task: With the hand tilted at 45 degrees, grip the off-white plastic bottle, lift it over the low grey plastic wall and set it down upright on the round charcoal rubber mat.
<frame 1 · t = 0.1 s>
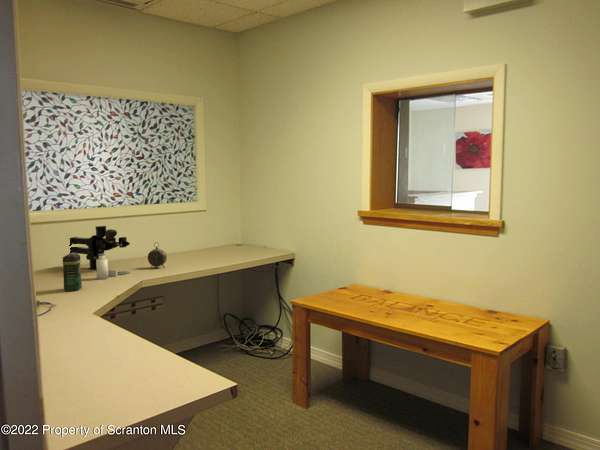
hand: (123, 244, 307), 17 cm above the table, tool horizontal, fingers open, 9 cm apart
mat: (121, 273, 304), on the table
coffee jar: (73, 289, 264), on the table
alarm clock: (157, 268, 320), on the table
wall: (110, 275, 298), on the table
bottle: (102, 278, 291), on the table
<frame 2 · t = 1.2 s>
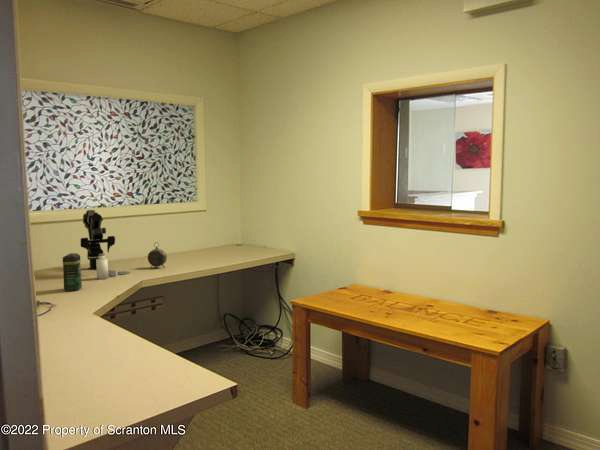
hand: (99, 252, 296), 14 cm above the table, tool tilted 45°, fingers open, 9 cm apart
nothing on the table moved.
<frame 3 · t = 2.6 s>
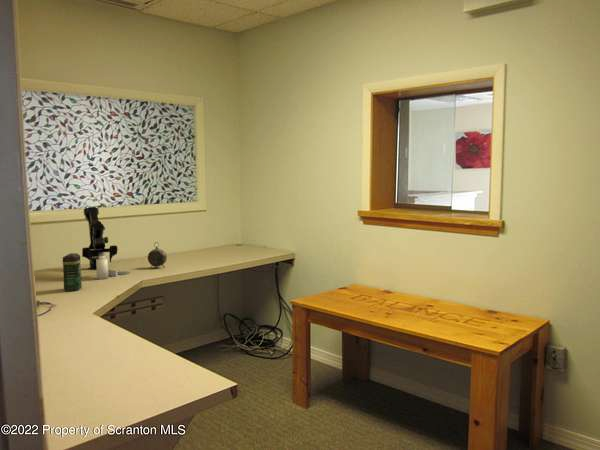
hand: (101, 262, 290), 9 cm above the table, tool tilted 45°, fingers open, 9 cm apart
nothing on the table moved.
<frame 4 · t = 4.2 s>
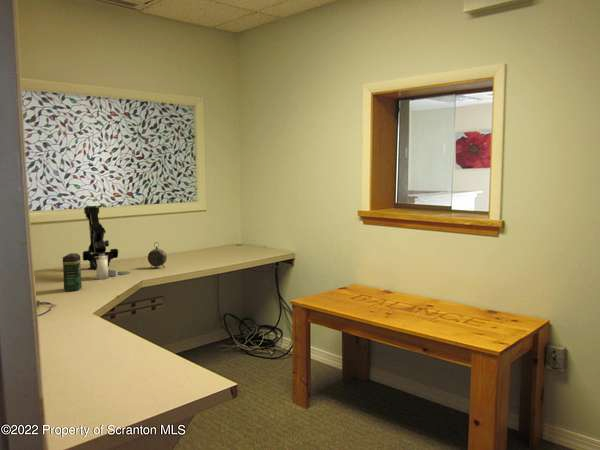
hand: (102, 266, 289), 7 cm above the table, tool tilted 45°, fingers closed on bottle, 6 cm apart
bottle: (102, 278, 291), on the table, touching gripper
everything else where it was.
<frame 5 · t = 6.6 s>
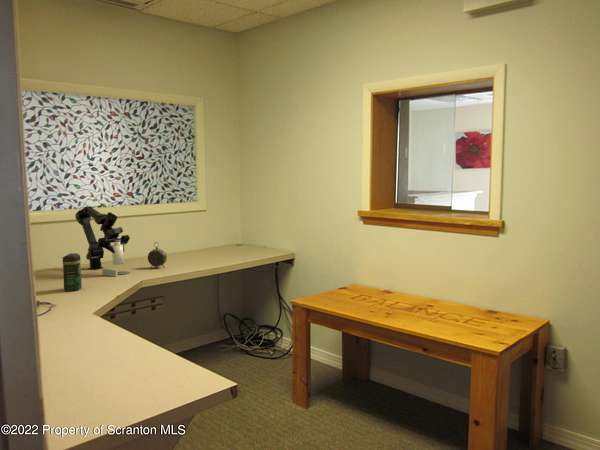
hand: (119, 252, 299), 13 cm above the table, tool tilted 45°, fingers closed on bottle, 6 cm apart
bottle: (118, 263, 301), point 6 cm above the table, touching gripper
everything else where it was.
when the fingers open (9 cm above the table, at t = 9.0 s): bottle drops 1 cm, resting on mat.
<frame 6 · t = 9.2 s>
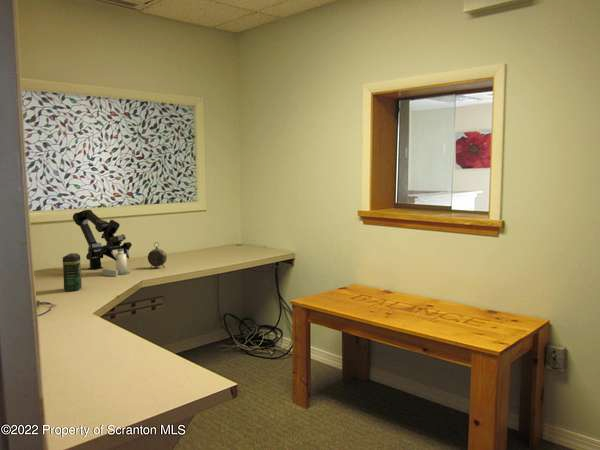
hand: (122, 259, 303), 9 cm above the table, tool tilted 45°, fingers open, 8 cm apart
bottle: (121, 272, 304), resting on mat
everything else where it was.
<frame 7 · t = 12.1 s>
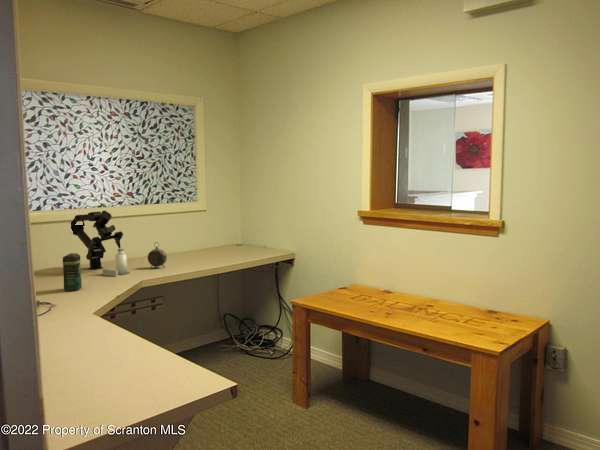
hand: (112, 250, 307), 13 cm above the table, tool tilted 40°, fingers open, 9 cm apart
nothing on the table moved.
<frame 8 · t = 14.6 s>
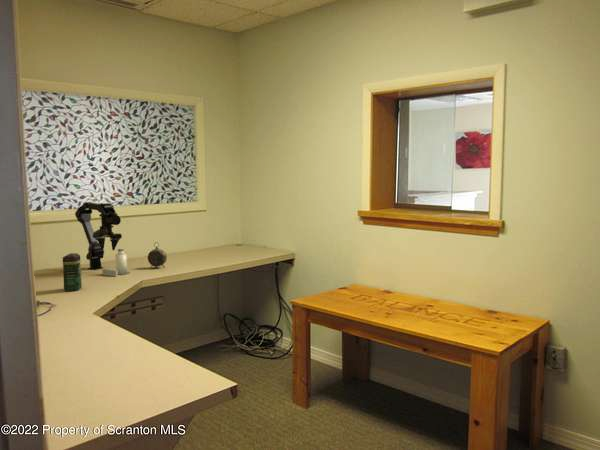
hand: (107, 249, 311), 13 cm above the table, tool pointing down, fingers open, 9 cm apart
nothing on the table moved.
at the end: bottle 0.1 cm off-centre on the mat, point 0.4 cm above the mat's base; bottle tilted 0°; the gripper is holding nothing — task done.
